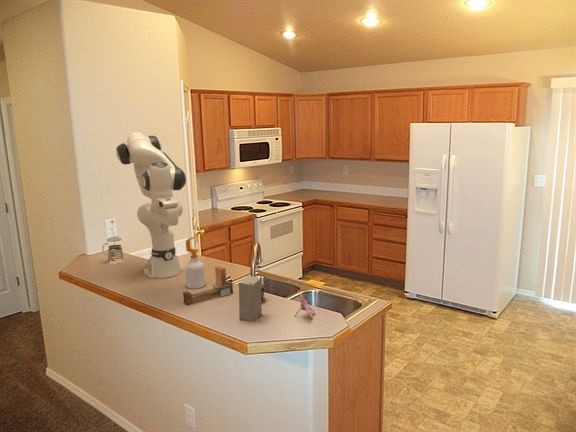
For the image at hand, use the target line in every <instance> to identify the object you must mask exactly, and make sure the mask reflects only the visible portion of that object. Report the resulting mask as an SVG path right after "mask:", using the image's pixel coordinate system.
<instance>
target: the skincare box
mask: <svg viewBox="0 0 576 432" xmlns="http://www.w3.org/2000/svg"><path fill="white" fill-rule="evenodd" d="M261 283H262V277H258V276H250V275H247V276H246V277H244V278H243V279H241V280H240V281H239V282H238V303H239V304H238V308H239V312H238V313H239V320H241V319H242V320H241V321H247V320H249V321H248V322H255V321H256V320H257V319H258V318H259V316H261V315H262V309H263V308H262V302H261Z"/></svg>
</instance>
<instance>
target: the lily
mask: <svg viewBox="0 0 576 432" xmlns="http://www.w3.org/2000/svg"><path fill="white" fill-rule="evenodd" d="M297 292H298V293H299V295H300V296H299V297H300V298H299V297H297V298H296V299H297V300H298V302H300V308H299V309H298V311H297V312H296V314H295V315H294V318H296V317H297V314H299V312H300V311H301V310H303V311H305V312H306V314H307V313H308V314H309V316H310V317H311V319H312V320H314V316H313V315H312V313H313V314H316V312H315V310H314V309H313V308H312V307H311V306H310V305H311V304H309V303H308V302H307V300H306V299H305V297H304V296H303V294H302V292H300V290H297Z"/></svg>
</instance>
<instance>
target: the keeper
mask: <svg viewBox="0 0 576 432" xmlns="http://www.w3.org/2000/svg"><path fill="white" fill-rule="evenodd" d="M214 268H215V270H214V271H215V283H213V284H212V289H213V288H216V289H218V290H219V294H220V297H221V298H222V297H225V296H229V295H231V294H230V285H228V284H226V281H227V272H226V271H227V270H226V269H227V268H225V267H222V266H215V267H214Z"/></svg>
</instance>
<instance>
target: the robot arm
mask: <svg viewBox="0 0 576 432" xmlns="http://www.w3.org/2000/svg"><path fill="white" fill-rule="evenodd" d="M115 150H116V151H115V154H116V157H117V160H118V161H119V162H120V163H121V164H122V165H131V164H133V170H134V174H135V175H134V176H135V178H136V180H137V184H138V186H139V188H140V191H141V193H142V195H144V196H145V197H146V198H149V199H150V200H151V202H147V203H145V204H142V205H140V206H139V207H138V209H137V211H136V215H137V219H138V221H139V222H140V223H141V224H143V225H144V226H145V227H146V228H147V230H148V232H149V234H150V239H151V247H152V248H151V254H150V255H151V256H150V257H149V258H148V259H147V261H146V263H145V268H144V269H143V270H142V271H144V272H145V273H144V272H143V273H144V275H147V276H146V277H147V279H148V278H149V279H165V278H166V279H167V278H171V277H175V276H178V275H179V274H180V273H181V272H182V271H183V268H182V267H180V261H179V259H180V258H179V256H178V255H177V254H176V253H177V252H176V247H175V238H174V237H175V236H174V233H173V231H172V230H170V229H169V227H173V226H178V223H179V217H181V216H182V214H183V210H184V209H183V205H182V203H181V201H180V200H178V199H176V198H175V197H174V194H173V191H181V190H182V189H183V188H184V187H185V185H186V183H187V177H186V174H185V172H184V170H183V169H182V168H180V167H179V166H177V165H176V163H175V162H174V161H172V159H171V158H170V157H169V155H168V154H167V153H166V152H164V151H163V150H162V143H161V140H159V139H158V137H157V136H156V135H148V136H147V135H145V134H144V133H143V132H140V131H134V132H132V133H130V134H129V135H128V137H127V140H126V142H124V143H121V144H118V145H117V147H116V149H115Z"/></svg>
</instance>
